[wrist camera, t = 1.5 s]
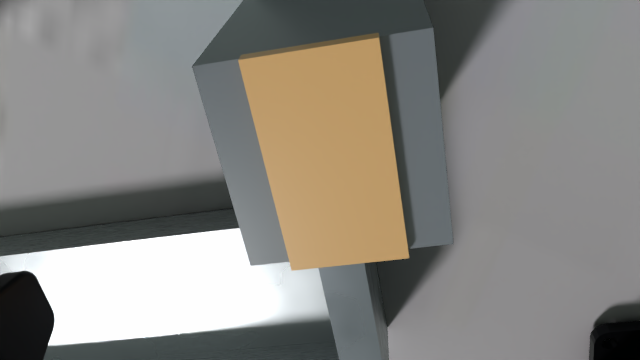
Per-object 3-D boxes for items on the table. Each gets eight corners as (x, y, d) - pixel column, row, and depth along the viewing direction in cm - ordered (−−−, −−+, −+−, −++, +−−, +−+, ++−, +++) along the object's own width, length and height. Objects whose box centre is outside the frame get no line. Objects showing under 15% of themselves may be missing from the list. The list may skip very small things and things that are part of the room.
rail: (364, 192, 18) (364, 261, 15) (387, 328, 21) (391, 410, 18) (-44, 242, 20) (-116, 312, 17) (23, 361, 23) (-28, 440, 20)
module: (409, -38, 15) (434, 28, 10) (426, 124, 17) (455, 253, 12) (249, -10, 16) (187, 68, 10) (284, 143, 18) (249, 275, 12)
